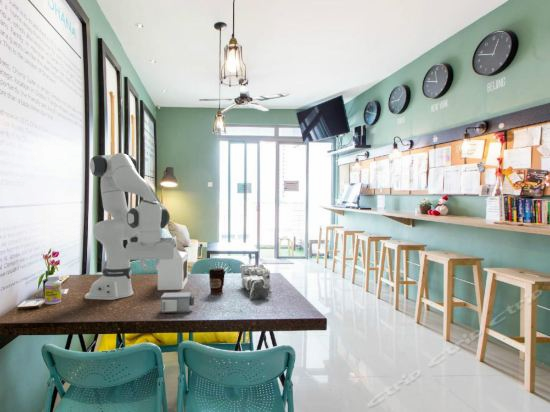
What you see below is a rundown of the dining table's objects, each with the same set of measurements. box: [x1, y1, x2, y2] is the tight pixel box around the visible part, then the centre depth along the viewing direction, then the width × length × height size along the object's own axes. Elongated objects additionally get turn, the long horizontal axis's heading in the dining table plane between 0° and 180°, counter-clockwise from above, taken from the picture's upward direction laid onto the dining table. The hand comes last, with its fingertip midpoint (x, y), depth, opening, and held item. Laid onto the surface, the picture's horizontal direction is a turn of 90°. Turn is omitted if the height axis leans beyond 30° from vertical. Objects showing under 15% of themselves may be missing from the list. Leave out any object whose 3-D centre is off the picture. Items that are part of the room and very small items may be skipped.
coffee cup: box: [208, 267, 226, 295], centre depth 190 cm, size 9×8×13 cm
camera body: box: [159, 291, 195, 314], centre depth 160 cm, size 14×8×7 cm, turn 95°
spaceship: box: [239, 263, 272, 301], centre depth 194 cm, size 16×35×12 cm, turn 13°
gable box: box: [157, 235, 189, 291], centre depth 207 cm, size 22×13×28 cm, turn 6°
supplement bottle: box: [44, 274, 62, 305], centre depth 170 cm, size 7×7×13 cm
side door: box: [162, 299, 177, 312], centre depth 155 cm, size 6×2×5 cm, turn 96°
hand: (150, 269), depth 154 cm, fingers open, 3 cm apart
